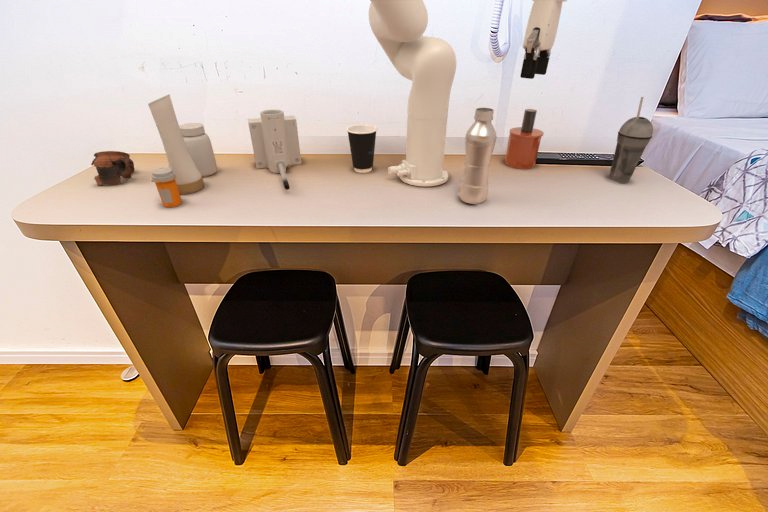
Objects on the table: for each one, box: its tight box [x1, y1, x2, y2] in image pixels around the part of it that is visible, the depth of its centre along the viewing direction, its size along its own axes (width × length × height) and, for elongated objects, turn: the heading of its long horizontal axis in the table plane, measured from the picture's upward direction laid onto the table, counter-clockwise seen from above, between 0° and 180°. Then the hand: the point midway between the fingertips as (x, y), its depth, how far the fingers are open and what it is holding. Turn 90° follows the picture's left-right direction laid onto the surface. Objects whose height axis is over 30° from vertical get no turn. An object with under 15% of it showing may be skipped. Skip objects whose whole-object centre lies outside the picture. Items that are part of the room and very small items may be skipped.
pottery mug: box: [90, 150, 136, 186], centre depth 97 cm, size 12×10×8 cm
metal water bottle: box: [458, 107, 498, 205], centre depth 82 cm, size 6×7×20 cm
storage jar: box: [504, 133, 542, 170], centre depth 106 cm, size 8×8×8 cm
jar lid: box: [508, 108, 545, 138], centre depth 103 cm, size 9×9×7 cm
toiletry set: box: [147, 94, 218, 209], centre depth 89 cm, size 25×8×21 cm, turn 2°
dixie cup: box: [345, 124, 378, 174], centre depth 102 cm, size 8×8×11 cm
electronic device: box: [247, 109, 302, 191], centre depth 96 cm, size 12×26×15 cm, turn 18°
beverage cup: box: [608, 96, 654, 184], centre depth 93 cm, size 7×7×20 cm
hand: (533, 76), depth 96 cm, fingers open, 9 cm apart
